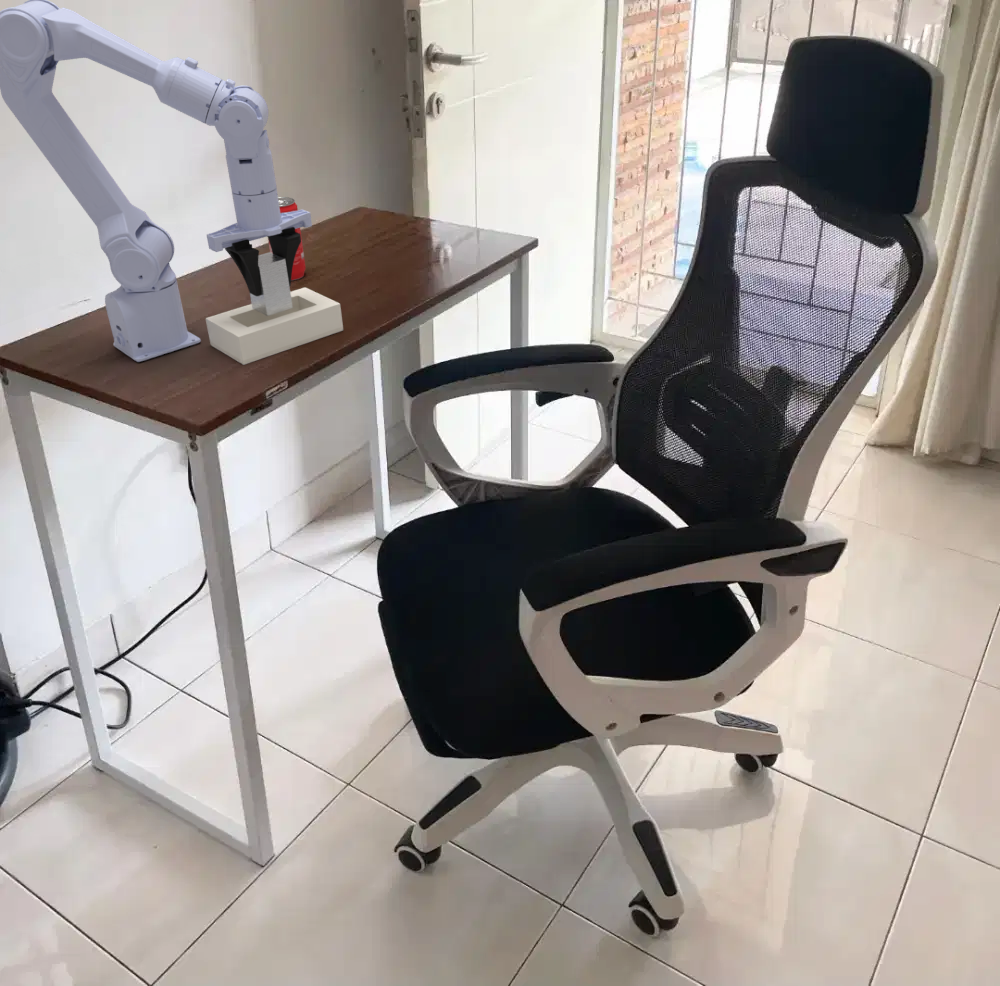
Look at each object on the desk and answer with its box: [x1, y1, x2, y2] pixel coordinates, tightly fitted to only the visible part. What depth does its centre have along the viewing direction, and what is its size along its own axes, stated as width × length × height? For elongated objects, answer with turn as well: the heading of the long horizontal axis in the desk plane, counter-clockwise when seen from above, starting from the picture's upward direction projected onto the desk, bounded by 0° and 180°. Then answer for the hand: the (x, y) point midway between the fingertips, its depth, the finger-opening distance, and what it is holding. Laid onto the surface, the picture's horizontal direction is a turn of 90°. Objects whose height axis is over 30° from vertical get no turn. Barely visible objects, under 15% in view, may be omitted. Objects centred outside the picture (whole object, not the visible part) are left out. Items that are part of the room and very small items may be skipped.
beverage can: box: [267, 196, 307, 282], centre depth 158 cm, size 5×5×12 cm
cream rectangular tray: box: [205, 287, 344, 366], centre depth 140 cm, size 16×9×4 cm, turn 132°
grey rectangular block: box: [249, 251, 293, 316], centre depth 137 cm, size 4×4×7 cm
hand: (270, 289), depth 137 cm, fingers closed on grey rectangular block, 4 cm apart
